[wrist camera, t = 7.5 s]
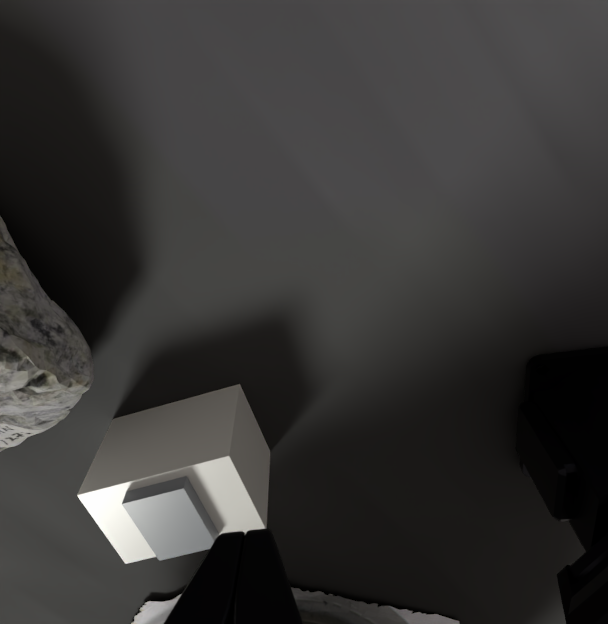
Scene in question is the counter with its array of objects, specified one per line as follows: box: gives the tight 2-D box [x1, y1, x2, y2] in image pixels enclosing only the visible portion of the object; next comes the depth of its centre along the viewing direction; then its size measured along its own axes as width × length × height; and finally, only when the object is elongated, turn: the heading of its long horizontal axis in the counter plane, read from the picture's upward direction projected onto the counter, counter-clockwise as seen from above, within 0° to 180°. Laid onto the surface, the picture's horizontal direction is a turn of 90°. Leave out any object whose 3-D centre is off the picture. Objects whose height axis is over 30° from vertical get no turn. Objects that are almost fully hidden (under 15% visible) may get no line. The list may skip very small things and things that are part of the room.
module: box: [77, 384, 270, 564], centre depth 22 cm, size 6×4×5 cm, turn 107°
